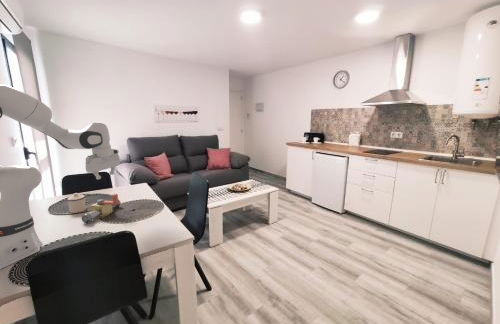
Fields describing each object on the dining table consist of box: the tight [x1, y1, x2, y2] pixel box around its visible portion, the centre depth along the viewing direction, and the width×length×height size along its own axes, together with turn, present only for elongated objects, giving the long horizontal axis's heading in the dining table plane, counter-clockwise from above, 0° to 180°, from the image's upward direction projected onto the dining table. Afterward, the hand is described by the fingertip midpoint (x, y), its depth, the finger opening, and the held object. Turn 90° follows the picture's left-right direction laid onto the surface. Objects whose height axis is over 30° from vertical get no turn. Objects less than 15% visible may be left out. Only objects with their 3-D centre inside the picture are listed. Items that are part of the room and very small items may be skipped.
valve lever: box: [96, 193, 120, 205], centre depth 131 cm, size 13×4×6 cm, turn 83°
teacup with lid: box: [66, 192, 87, 214], centre depth 140 cm, size 12×9×12 cm
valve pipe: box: [81, 199, 122, 224], centre depth 134 cm, size 24×7×8 cm, turn 173°
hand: (105, 176), depth 123 cm, fingers open, 8 cm apart
